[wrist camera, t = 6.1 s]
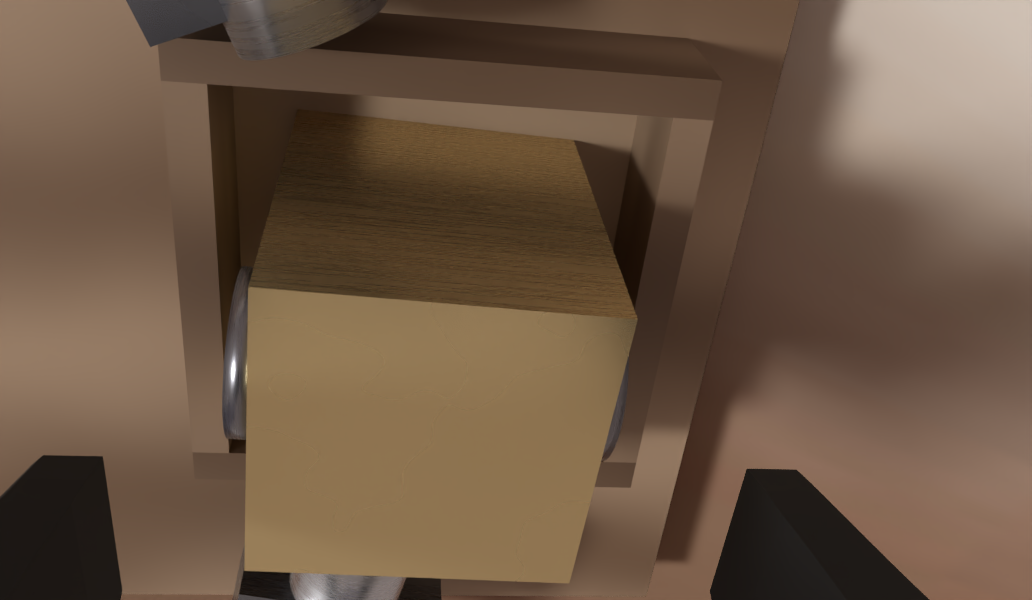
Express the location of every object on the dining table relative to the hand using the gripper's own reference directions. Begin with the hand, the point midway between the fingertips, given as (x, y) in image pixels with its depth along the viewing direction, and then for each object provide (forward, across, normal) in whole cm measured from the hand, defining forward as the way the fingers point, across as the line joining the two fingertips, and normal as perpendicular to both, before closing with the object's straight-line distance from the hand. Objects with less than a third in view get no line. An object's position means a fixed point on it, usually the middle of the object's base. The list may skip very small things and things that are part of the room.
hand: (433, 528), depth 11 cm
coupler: (+7, 0, 0) cm, 7 cm away
